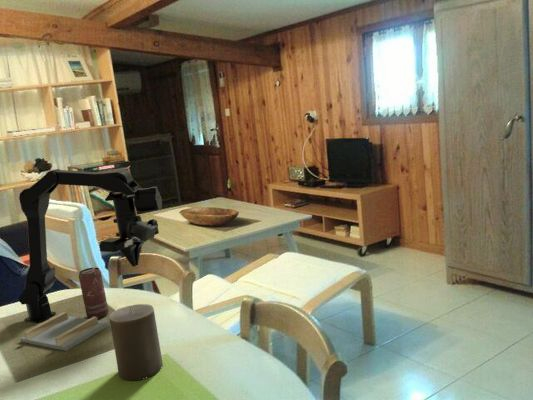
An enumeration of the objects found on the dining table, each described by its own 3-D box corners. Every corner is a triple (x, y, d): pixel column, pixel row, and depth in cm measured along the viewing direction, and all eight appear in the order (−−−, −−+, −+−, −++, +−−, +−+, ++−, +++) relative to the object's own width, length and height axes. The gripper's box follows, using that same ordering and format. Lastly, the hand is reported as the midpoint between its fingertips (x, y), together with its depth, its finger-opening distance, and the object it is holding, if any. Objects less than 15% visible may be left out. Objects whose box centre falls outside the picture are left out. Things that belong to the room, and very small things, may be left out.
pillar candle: (140, 384, 105) (129, 318, 103) (109, 375, 111) (98, 312, 108) (172, 362, 113) (162, 300, 111) (141, 355, 119) (131, 295, 116)
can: (112, 309, 149) (103, 265, 146) (103, 319, 143) (94, 273, 140) (93, 311, 150) (84, 267, 147) (83, 320, 143) (74, 274, 141)
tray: (21, 341, 134) (18, 331, 134) (64, 318, 147) (62, 309, 146) (66, 350, 126) (64, 339, 125) (109, 325, 138) (107, 315, 137)
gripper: (123, 223, 131) (133, 279, 134) (168, 206, 147) (176, 256, 150) (93, 222, 136) (103, 276, 139) (140, 206, 152) (148, 255, 155)
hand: (135, 265), depth 146 cm, fingers closed
